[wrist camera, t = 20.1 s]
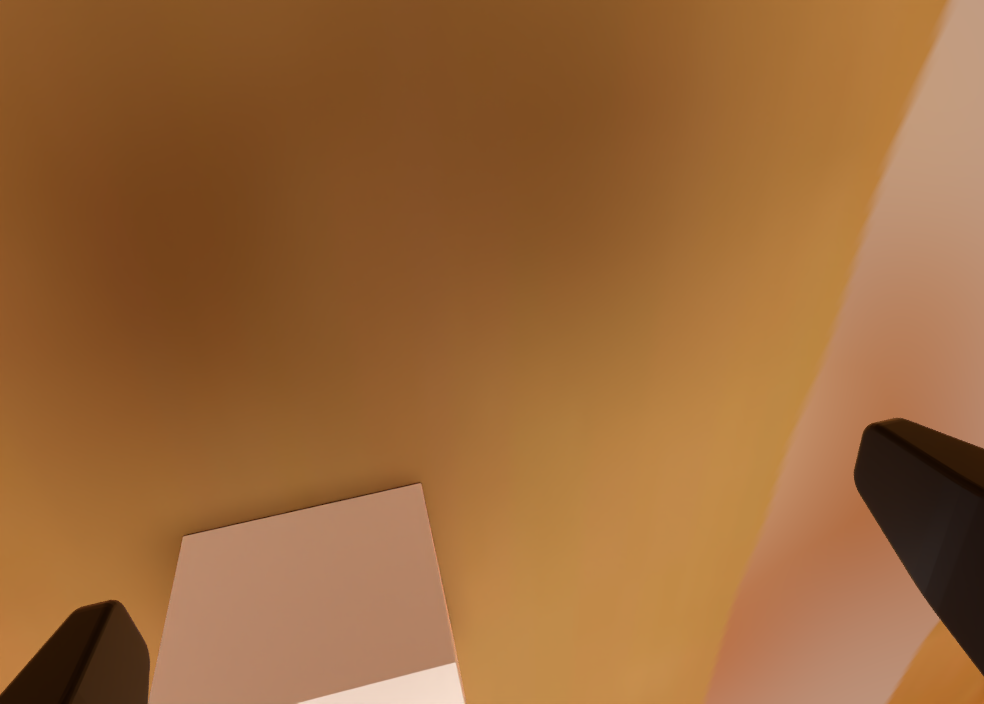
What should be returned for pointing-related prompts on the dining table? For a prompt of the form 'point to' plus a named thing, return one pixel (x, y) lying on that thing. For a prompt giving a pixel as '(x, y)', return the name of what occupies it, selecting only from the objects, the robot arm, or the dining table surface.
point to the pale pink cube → (312, 610)
